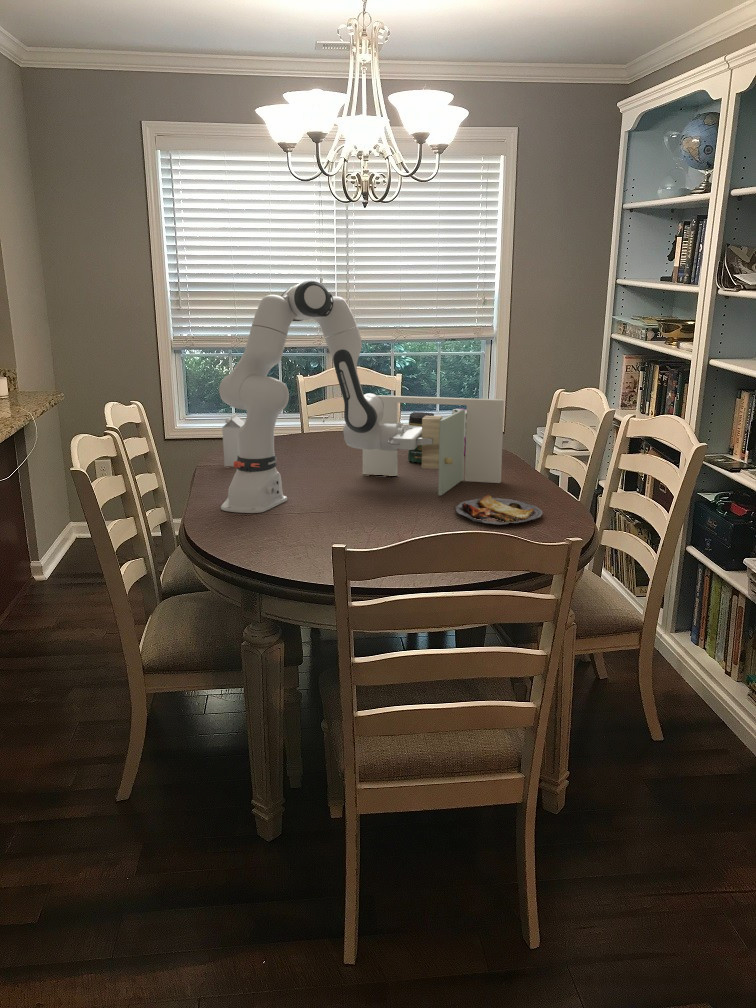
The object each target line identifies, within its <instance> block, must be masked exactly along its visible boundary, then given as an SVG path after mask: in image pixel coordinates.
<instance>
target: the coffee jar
mask: <svg viewBox="0 0 756 1008" xmlns="http://www.w3.org/2000/svg"><path fill="white" fill-rule="evenodd" d="M425 416H435V415H434V413H433V412H424V411H420V412H419V411H417V412H416V411H413V412H411V413H410V414H409V419H408V425H412V426H421V427H422V418H423V417H425ZM407 460H408V461H409V462H410V461H411V462H410V463H414V462H417V464H422V445H418V446H417V447H416V448H415V449H414V450H408V455H407Z"/></svg>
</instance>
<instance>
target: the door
mask: <svg viewBox="0 0 756 1008" xmlns="http://www.w3.org/2000/svg"><path fill="white" fill-rule="evenodd" d="M461 409H462V410H460V411H458V412H456V413H454V414H450V415H447V416H446V417H442V419H441V420H440V431H439V469H438V493H437V494H438V496H442V495H444V494H445V493H446V492H448V491H449V490H451V489H452V488H454V487H455V486H456V485H458V484H459V483H460V482H462V481H463V480H464V471H465V456H464V455H465V454H464V431H465V410H466V409H465V408H461Z"/></svg>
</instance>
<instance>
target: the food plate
mask: <svg viewBox="0 0 756 1008" xmlns="http://www.w3.org/2000/svg"><path fill="white" fill-rule="evenodd" d="M454 511H455V512H456V514H458V515H461V516H463V517H465V518H468V519H470V521H472V522H476V523H482V524H488V525H489V524H491V525H496V526H497V525H510V524H509V523H508V522H510V523H514V524H519V523H526V522H528V521H531V520H532V521H534V520H536V519H538V518H541V517H542V515H543V511H542V510H541V508H539V507H537V505H534V504H532V503H530V502H526V501H521V500H517V499H516V500H514V499H511V498H503V497H502V498H501V497H500V498H499V497H492V496H491V495H490V494H486V495H484V496H483V497H482V498H473V499H466V500H464V501H460V502H459V503H457V505H455V506H454ZM531 516H532V517H531ZM514 517H515V518H518V519H524V520H519V521H517V520H518V519H515V518H514ZM474 518H476V519H474ZM488 518H489V519H490V518H491V519H492V518H495V519H498V520H501V521H504V522H507V523H504V522H501V521H500V522H497V521H493V522H492V521H488V520H487V521H484V520H483V519H488ZM477 519H481V520H477ZM514 521H516V522H514Z"/></svg>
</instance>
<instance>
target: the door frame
mask: <svg viewBox="0 0 756 1008" xmlns="http://www.w3.org/2000/svg"><path fill="white" fill-rule="evenodd" d="M376 395H377V396H379V397H380V398H381V400H382V402H383V404H384V411H383V417H382V423H394V424H396V423H398V404H422V405H451V406H453V405H454V406H466V410H467V416H466V454H464V455H465V456H464V481H465V482H472V483H474V482H476V483H477V482H478V483H493V484H494V483H495V484H501V481H502V459H503V439H504V438H503V437H504V435H503V431H504V411H505V409H504V408H505V399H499V398H498V399H497V398H475V397H473V398H472V397H471V398H469V397H466V398H465V397H444V396H443V397H442V396H437V397H436V396H413V395H411V396H410V395H408V396H407V395H385V394H384V395H380V394H379V395H378V394H376ZM361 450H362V451H361V452H362V475H363V474H374V475H389V476H396V475H397V476H398V451H388V450H380V449H371V450H368V449H361Z"/></svg>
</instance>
